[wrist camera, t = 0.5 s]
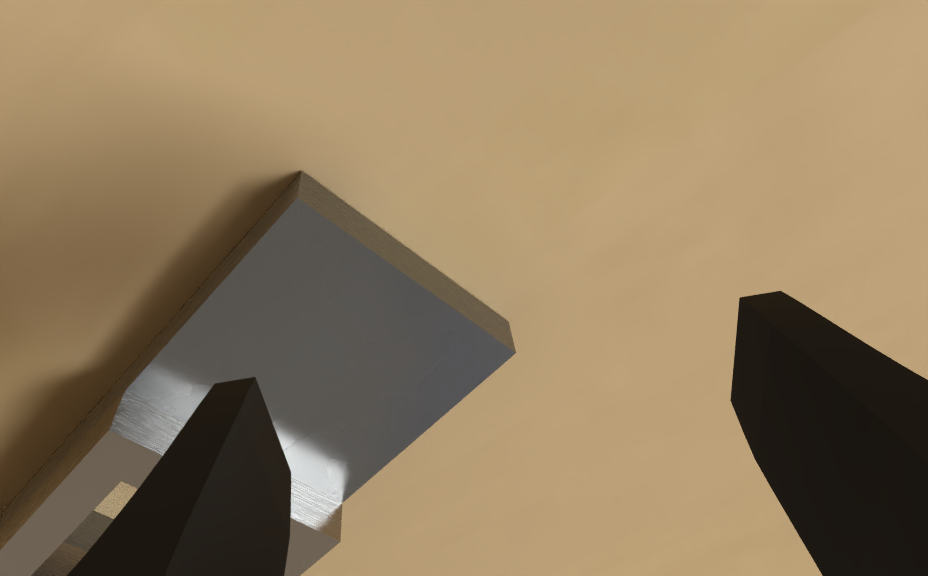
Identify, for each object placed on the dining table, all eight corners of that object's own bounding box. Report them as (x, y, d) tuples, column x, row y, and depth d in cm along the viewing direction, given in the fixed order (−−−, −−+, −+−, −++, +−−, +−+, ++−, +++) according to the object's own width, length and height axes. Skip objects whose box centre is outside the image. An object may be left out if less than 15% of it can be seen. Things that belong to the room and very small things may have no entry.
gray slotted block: (302, 170, 20) (291, 228, 17) (508, 321, 23) (524, 388, 21) (-96, 624, 28) (-142, 706, 26) (97, 686, 32) (74, 764, 29)
